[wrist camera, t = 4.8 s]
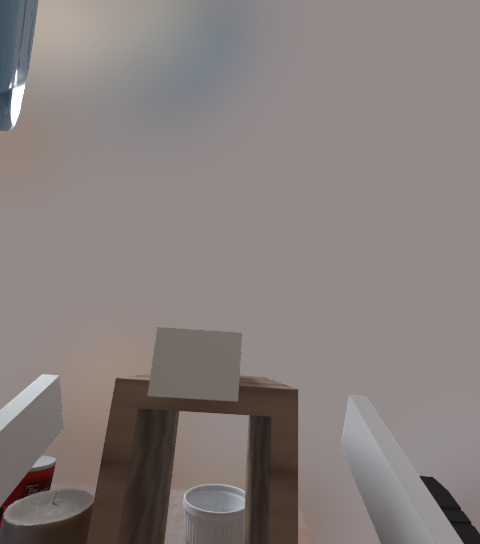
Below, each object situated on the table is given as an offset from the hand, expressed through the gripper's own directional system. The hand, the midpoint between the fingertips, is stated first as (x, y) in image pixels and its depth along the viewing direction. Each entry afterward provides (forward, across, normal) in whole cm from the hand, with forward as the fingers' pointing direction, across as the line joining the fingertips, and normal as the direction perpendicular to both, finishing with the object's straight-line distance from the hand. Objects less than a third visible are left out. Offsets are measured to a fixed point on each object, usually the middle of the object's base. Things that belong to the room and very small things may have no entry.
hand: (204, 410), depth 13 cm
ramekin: (+31, +1, -52) cm, 61 cm away
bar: (+12, -1, -6) cm, 13 cm away
